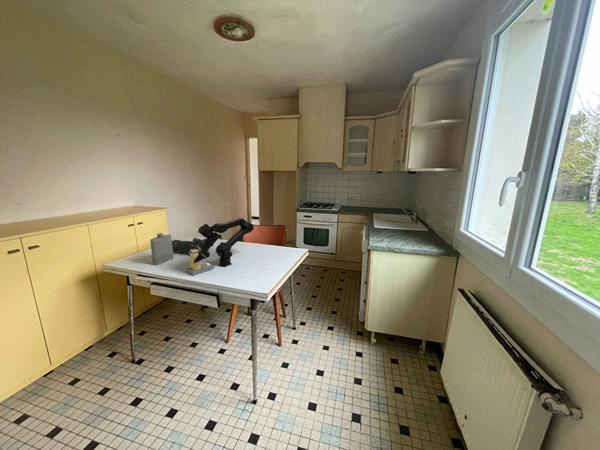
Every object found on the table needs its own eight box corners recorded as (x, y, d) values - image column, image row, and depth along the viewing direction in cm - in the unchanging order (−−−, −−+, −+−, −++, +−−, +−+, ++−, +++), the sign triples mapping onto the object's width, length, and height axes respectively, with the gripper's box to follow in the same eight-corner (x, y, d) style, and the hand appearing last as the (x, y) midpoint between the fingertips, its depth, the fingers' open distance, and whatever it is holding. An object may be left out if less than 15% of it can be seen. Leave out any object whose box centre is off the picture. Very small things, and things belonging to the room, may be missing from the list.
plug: (197, 269, 147) (196, 248, 144) (201, 271, 144) (199, 250, 141) (191, 271, 144) (189, 250, 141) (194, 273, 141) (192, 251, 138)
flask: (168, 257, 168) (166, 230, 164) (175, 258, 167) (172, 231, 163) (150, 264, 154) (146, 235, 150) (157, 265, 153) (153, 236, 149)
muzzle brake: (201, 257, 169) (200, 244, 167) (168, 254, 175) (166, 241, 173) (208, 253, 178) (207, 240, 176) (177, 250, 184) (175, 238, 182)
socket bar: (207, 265, 154) (206, 261, 154) (214, 268, 150) (213, 264, 149) (186, 272, 143) (186, 267, 143) (193, 275, 139) (192, 271, 138)
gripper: (197, 230, 149) (179, 248, 145) (202, 236, 133) (183, 257, 130) (210, 240, 154) (194, 258, 151) (217, 247, 139) (199, 268, 136)
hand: (192, 260), depth 142 cm, fingers open, 9 cm apart
